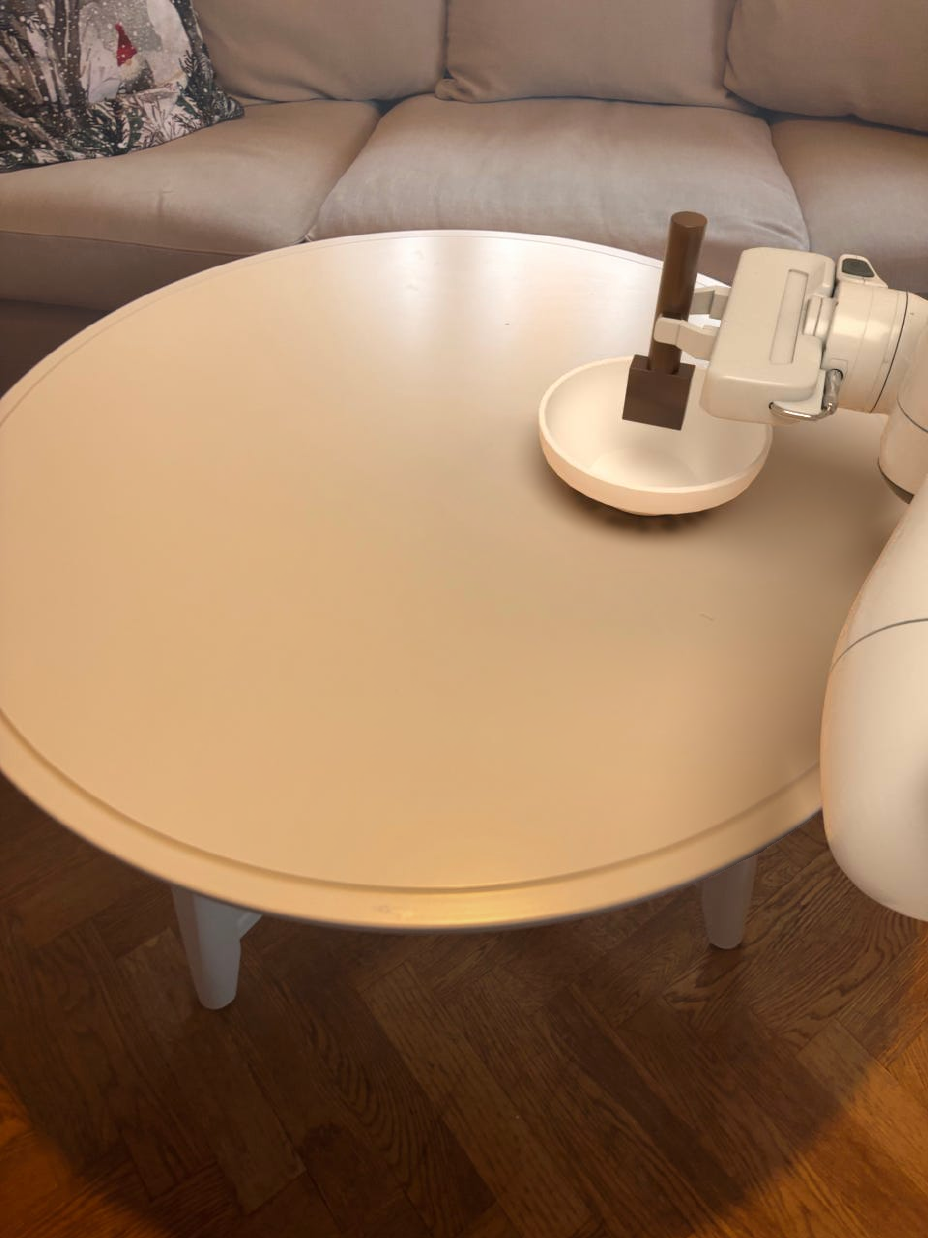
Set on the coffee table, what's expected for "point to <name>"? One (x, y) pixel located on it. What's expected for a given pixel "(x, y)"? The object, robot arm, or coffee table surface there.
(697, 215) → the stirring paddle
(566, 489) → the coffee table surface
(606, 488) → the bowl
